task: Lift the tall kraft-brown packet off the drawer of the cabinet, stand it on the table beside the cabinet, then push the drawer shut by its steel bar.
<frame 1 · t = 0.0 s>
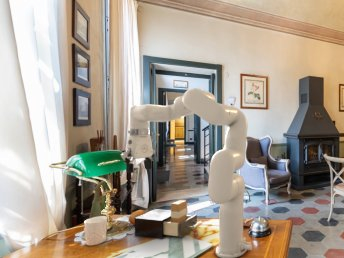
hand: (139, 170, 105), 31 cm above the table, tool pointing down, fingers open, 9 cm apart
cabinet: (158, 231, 114), on the table
fruit: (138, 224, 122), on the table
white cup: (96, 242, 103), on the table
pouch: (100, 230, 115), on the table
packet: (179, 229, 112), point 2 cm above the table, touching drawer
drawer: (181, 225, 111), point 4 cm above the table, slide at 8.5 cm, touching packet
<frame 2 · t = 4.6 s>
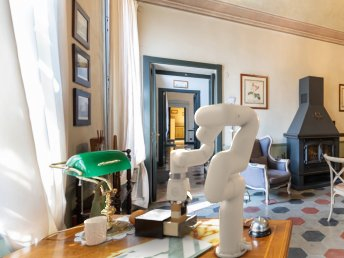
hand: (179, 213, 111), 10 cm above the table, tool pointing down, fingers closed on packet, 4 cm apart
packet: (179, 229, 112), point 2 cm above the table, touching gripper, drawer
everything else where it was.
when the fingers open (7 cm above the table, at t = 11.6 s): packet stays where it is, on the table.
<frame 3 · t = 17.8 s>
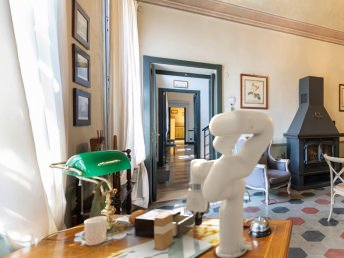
hand: (198, 224, 110), 5 cm above the table, tool pointing down, fingers closed
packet: (163, 245, 100), on the table
drawer: (179, 224, 112), point 4 cm above the table, slide at 7.4 cm, touching gripper
everything else where it was.
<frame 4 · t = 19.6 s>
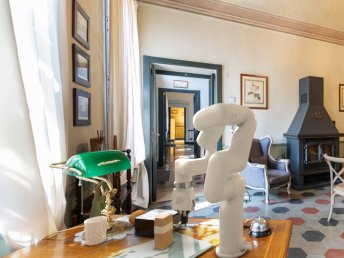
hand: (184, 223, 111), 5 cm above the table, tool pointing down, fingers closed
drawer: (165, 223, 113), point 4 cm above the table, slide at 0.0 cm, touching gripper, cabinet
everything else where it was.
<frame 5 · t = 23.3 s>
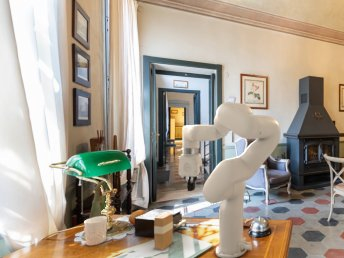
hand: (191, 190, 110), 21 cm above the table, tool pointing down, fingers closed
drawer: (165, 223, 113), point 4 cm above the table, slide at 0.0 cm, touching cabinet
everything else where it was.
at the end: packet inside the target area (0.2 cm from its centre), on the table; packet tilted 0°; drawer slide at 0.0 cm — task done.
